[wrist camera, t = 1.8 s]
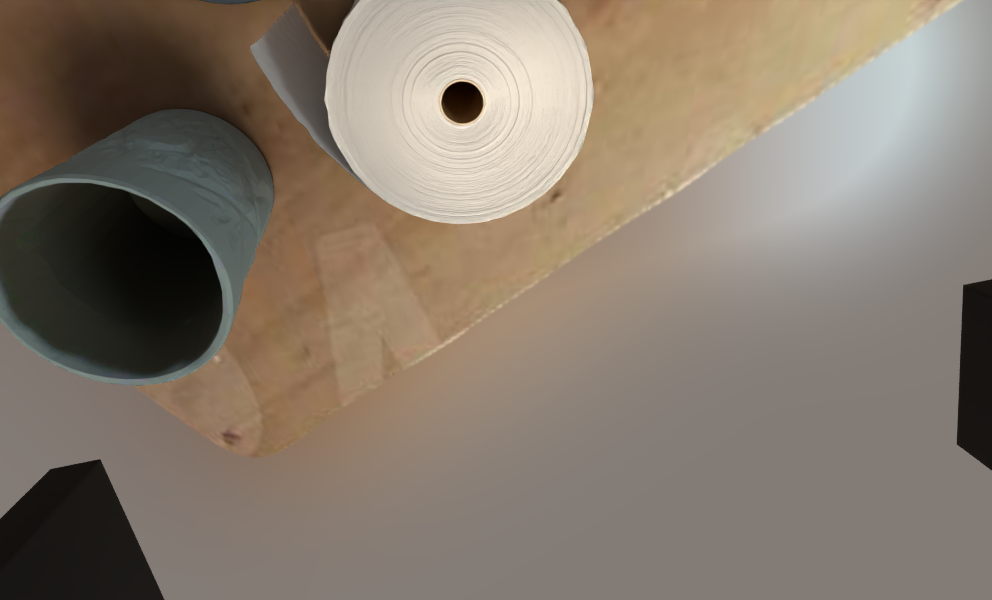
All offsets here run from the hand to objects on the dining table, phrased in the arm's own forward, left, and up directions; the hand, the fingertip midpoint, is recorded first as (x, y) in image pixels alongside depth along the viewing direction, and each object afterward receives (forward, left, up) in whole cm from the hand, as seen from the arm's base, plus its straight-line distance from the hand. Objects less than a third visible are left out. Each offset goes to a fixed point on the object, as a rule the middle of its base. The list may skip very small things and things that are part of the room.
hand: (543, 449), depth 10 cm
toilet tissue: (-1, -1, -29) cm, 29 cm away
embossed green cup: (-13, -11, -29) cm, 34 cm away
